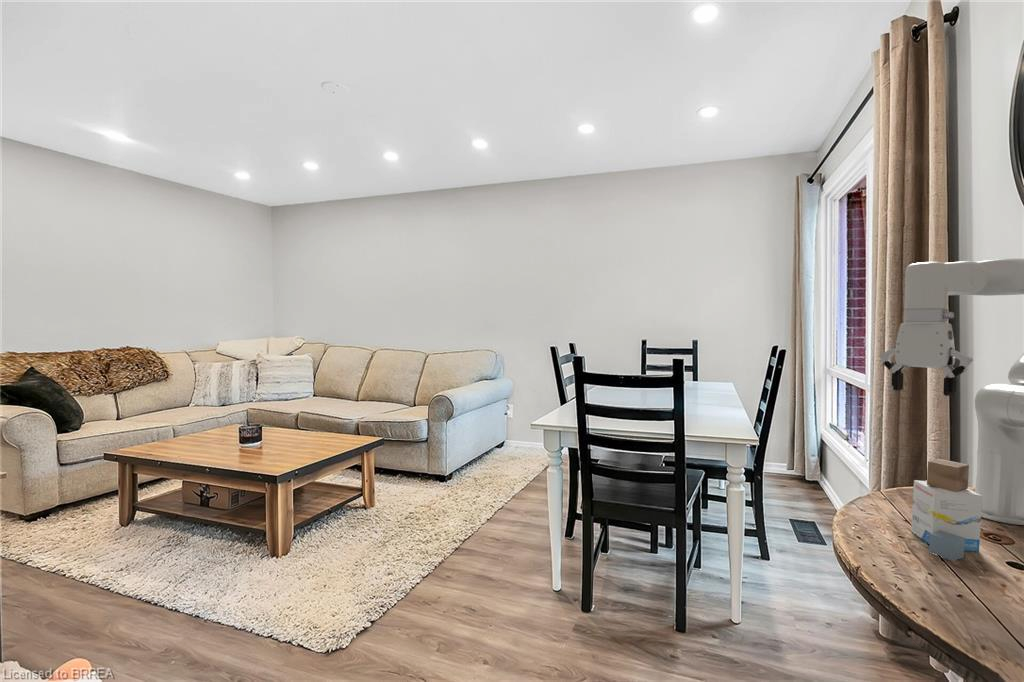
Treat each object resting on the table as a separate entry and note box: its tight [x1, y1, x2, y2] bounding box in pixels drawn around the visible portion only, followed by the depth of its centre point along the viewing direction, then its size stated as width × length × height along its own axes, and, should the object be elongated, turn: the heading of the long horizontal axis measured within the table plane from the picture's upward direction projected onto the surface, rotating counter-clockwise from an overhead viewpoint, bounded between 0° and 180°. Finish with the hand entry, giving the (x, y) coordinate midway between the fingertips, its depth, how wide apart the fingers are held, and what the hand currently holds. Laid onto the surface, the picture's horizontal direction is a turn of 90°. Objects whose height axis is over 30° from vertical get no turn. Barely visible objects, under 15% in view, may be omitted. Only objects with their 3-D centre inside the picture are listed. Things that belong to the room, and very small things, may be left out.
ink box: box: [910, 479, 982, 553], centre depth 109 cm, size 9×8×12 cm
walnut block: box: [926, 458, 970, 492], centre depth 108 cm, size 5×5×5 cm
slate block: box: [928, 530, 965, 562], centre depth 102 cm, size 4×4×4 cm
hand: (922, 392), depth 119 cm, fingers open, 9 cm apart
